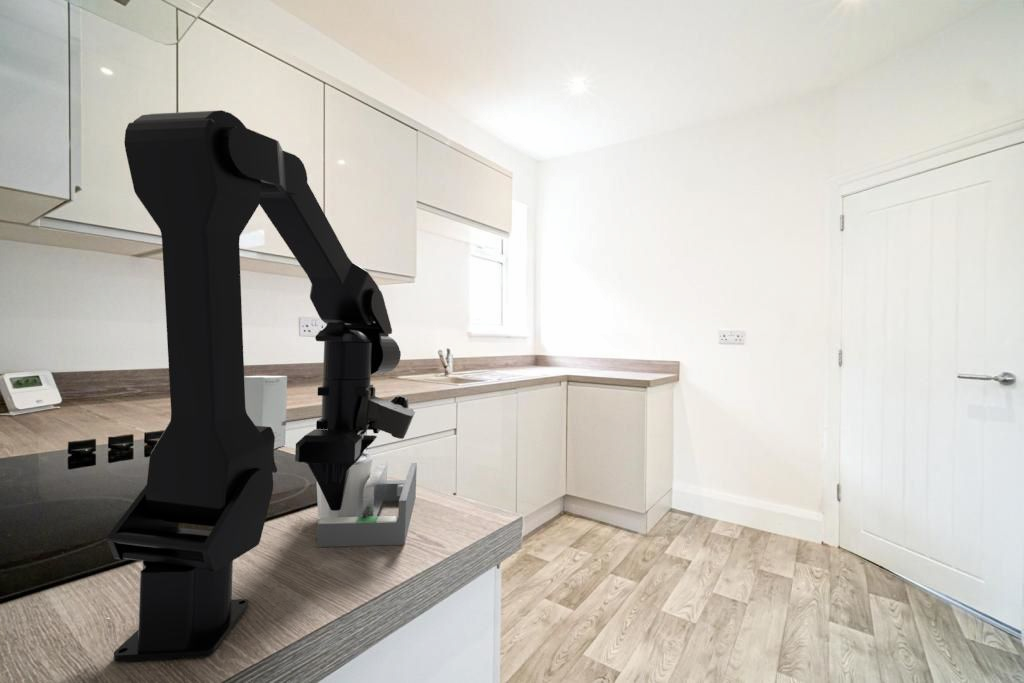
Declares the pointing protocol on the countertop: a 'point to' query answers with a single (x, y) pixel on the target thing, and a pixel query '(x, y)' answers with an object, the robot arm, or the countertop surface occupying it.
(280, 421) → the skincare box
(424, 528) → the countertop surface
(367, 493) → the flat metal bar
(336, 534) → the frame
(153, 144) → the robot arm
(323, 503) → the white tapered cup
